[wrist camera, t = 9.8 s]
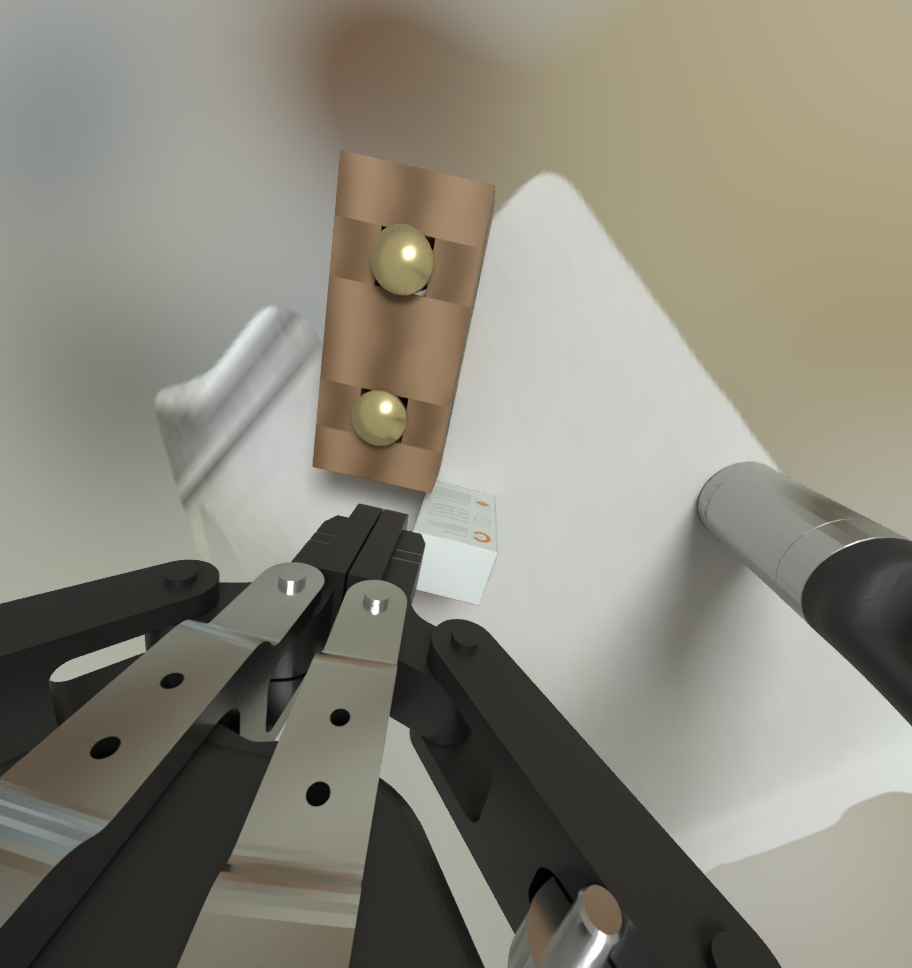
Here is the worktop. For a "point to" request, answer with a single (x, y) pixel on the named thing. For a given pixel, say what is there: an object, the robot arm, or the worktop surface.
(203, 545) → the worktop surface
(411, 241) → the plunger
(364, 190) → the socket block
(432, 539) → the small box
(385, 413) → the plunger
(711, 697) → the worktop surface
